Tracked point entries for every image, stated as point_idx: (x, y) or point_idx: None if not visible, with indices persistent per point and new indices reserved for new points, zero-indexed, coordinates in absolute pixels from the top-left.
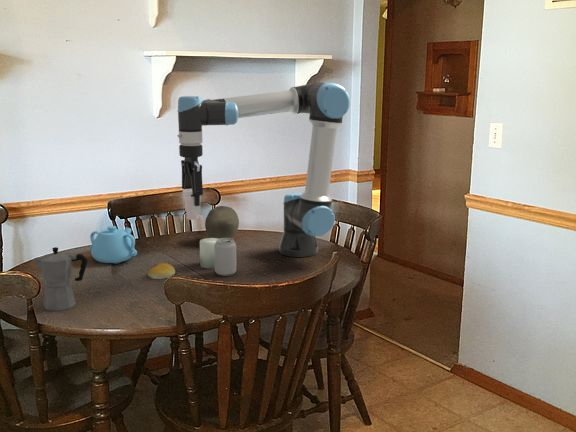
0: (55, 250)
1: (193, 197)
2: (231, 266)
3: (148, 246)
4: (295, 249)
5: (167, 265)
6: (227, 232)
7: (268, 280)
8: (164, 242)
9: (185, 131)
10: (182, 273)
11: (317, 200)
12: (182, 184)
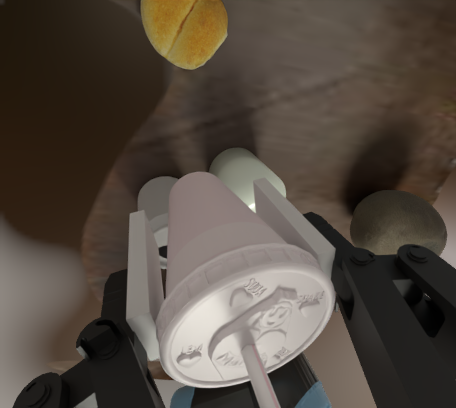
0: None
1: (131, 316)
2: None
3: (438, 34)
4: None
5: (190, 43)
6: (353, 232)
7: (96, 271)
8: (437, 85)
9: None
10: (187, 91)
11: None
12: (440, 277)
